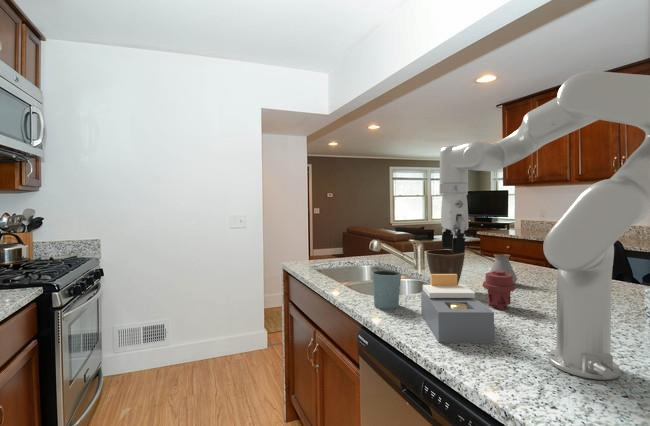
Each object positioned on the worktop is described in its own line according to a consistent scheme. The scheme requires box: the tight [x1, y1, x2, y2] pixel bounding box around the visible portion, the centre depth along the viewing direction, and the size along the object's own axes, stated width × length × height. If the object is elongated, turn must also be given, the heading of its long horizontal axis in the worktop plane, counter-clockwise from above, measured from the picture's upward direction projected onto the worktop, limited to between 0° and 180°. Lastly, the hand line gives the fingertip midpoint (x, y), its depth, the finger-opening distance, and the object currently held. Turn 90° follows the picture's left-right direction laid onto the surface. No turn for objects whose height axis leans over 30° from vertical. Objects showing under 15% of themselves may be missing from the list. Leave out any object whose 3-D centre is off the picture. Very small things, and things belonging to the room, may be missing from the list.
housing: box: [420, 290, 495, 344], centre depth 100 cm, size 22×14×8 cm, turn 176°
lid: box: [422, 273, 476, 298], centre depth 106 cm, size 10×13×5 cm
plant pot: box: [425, 248, 466, 285], centre depth 141 cm, size 15×15×16 cm
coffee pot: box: [465, 247, 518, 284], centre depth 154 cm, size 21×12×15 cm, turn 50°
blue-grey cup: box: [371, 269, 402, 311], centre depth 123 cm, size 10×10×12 cm
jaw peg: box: [450, 303, 467, 309], centre depth 96 cm, size 4×4×6 cm
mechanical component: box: [482, 270, 516, 311], centre depth 119 cm, size 12×10×10 cm
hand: (452, 249), depth 99 cm, fingers open, 9 cm apart
